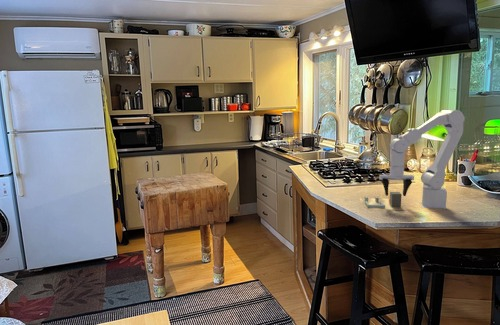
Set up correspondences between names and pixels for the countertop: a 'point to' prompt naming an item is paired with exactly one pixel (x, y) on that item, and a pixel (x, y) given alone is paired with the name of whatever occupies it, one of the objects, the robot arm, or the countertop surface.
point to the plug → (395, 199)
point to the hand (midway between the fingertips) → (395, 195)
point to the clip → (375, 199)
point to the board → (373, 202)
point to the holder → (375, 205)
